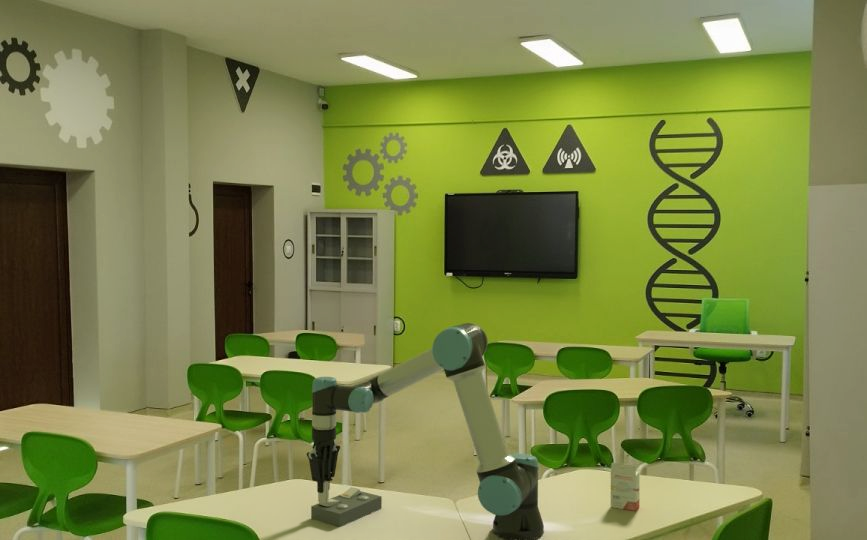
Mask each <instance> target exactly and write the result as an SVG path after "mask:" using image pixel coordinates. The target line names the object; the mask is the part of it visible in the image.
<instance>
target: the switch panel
mask: <svg viewBox="0 0 867 540" xmlns="http://www.w3.org/2000/svg"><path fill="white" fill-rule="evenodd" d="M342 494H343V493H341V494H339V495H336V496H334V497H331V498H330V499H333V500H337V501H340V503H339V504H336V505H334V506H323V505H320V504H319V502H318V503H316V504H313V505H311V507H310V509H311V510H310V511H311V517H310V518H311V520H314V521H318V522H322V523H324V524H328V525H332V526H336V527H340V528H341V527H343V526H345V525H347V523H348V524H350V523H352V522H354V521H356V520H359V519H361V518H363V516H364V517H365V515H366V516H367V514H368V515H370V514H372V512H373V513H375V512H376V511H377V512H378V511H379V510H381V508H382V501H383V500H382V499H383V498H382V495H377V494H374V493H369V492H364V491H361V490H360V494H358V495H357V496H356V497H353V498H351V499H345V498H341V497H340V496H341V495H342ZM382 509H383V508H382ZM374 511H375V512H374Z"/></svg>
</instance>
